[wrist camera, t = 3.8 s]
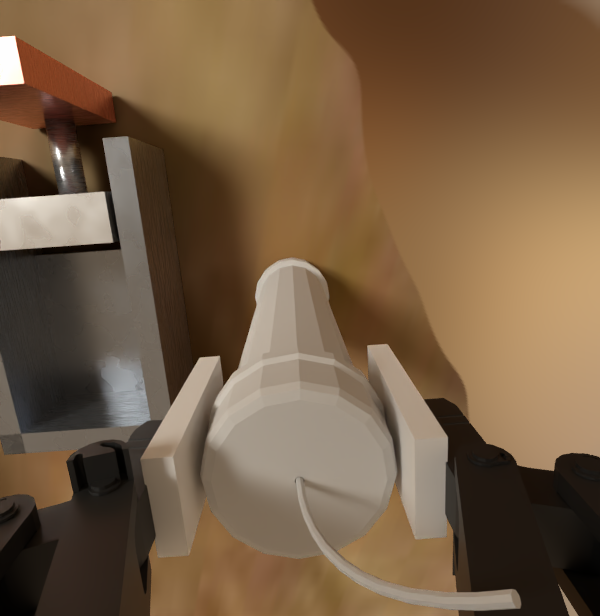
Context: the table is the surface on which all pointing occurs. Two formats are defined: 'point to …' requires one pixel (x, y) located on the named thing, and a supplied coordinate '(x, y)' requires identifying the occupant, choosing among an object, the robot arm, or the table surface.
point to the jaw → (54, 150)
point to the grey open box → (94, 319)
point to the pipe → (307, 441)
